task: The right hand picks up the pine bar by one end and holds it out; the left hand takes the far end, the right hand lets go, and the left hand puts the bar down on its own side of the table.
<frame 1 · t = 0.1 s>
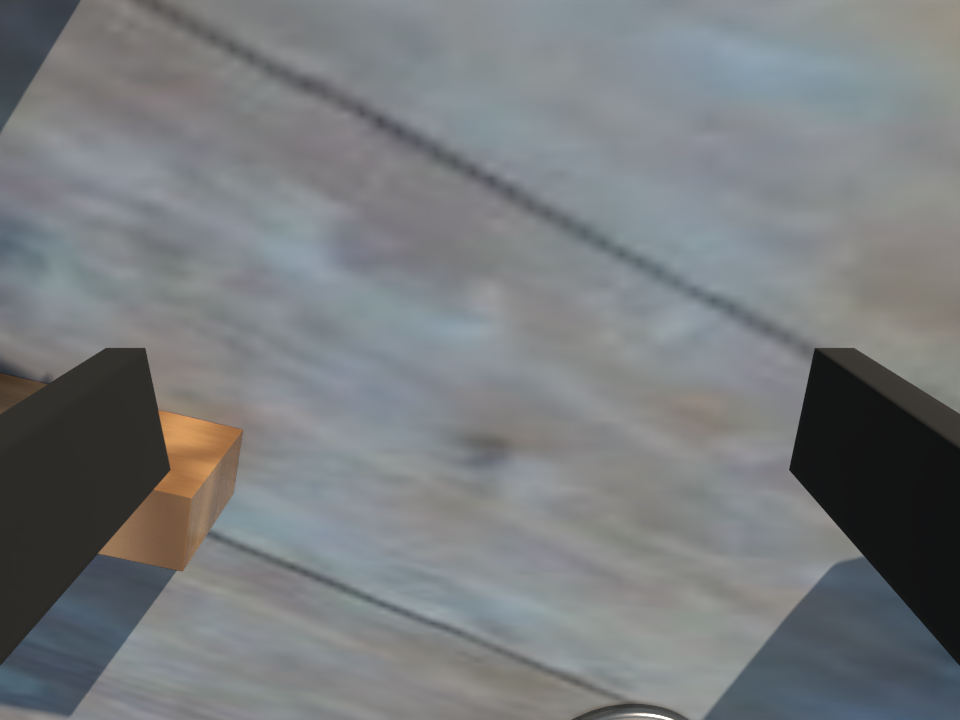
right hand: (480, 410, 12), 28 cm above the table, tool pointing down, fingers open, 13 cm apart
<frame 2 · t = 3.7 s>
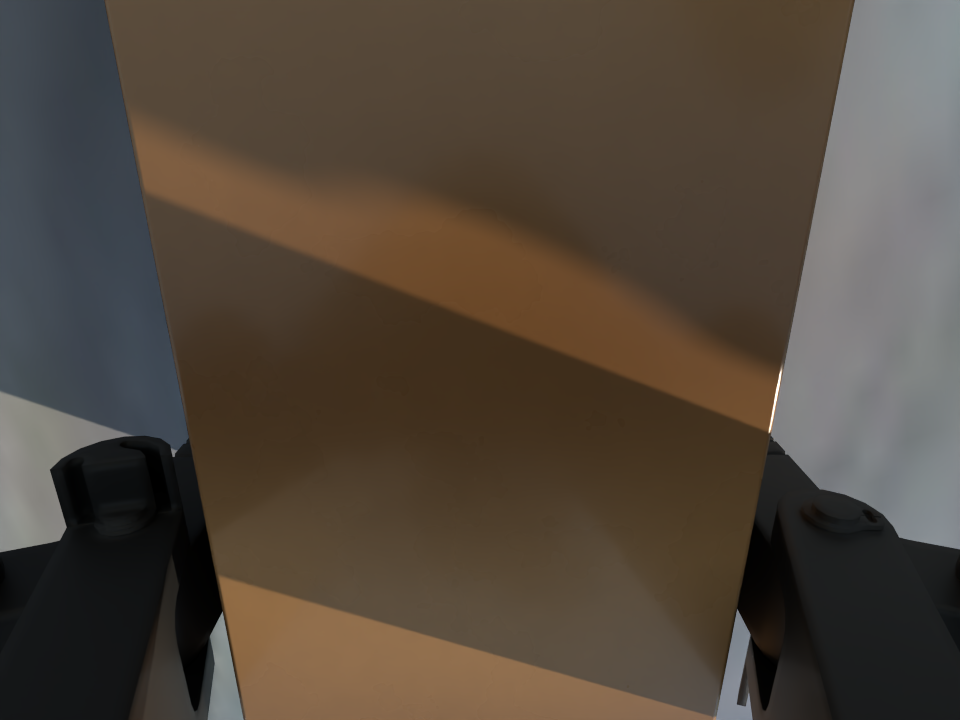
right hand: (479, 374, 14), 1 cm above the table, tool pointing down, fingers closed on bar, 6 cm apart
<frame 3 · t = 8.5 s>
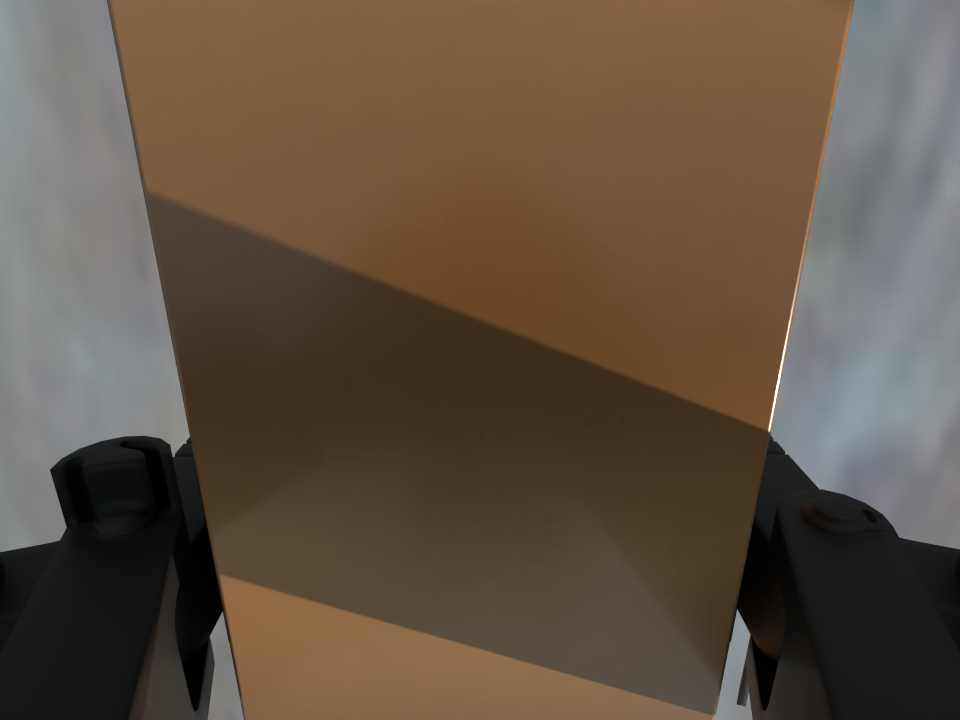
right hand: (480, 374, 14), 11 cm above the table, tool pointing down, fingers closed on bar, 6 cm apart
when the right hand's fingers open (11 cm above the table, at t = 9.1 s): bar stays where it is, held by the left hand.
when the left hand's fingers open (2 cm above the table, at t = 12.5 s): bar stays where it is, on the table.
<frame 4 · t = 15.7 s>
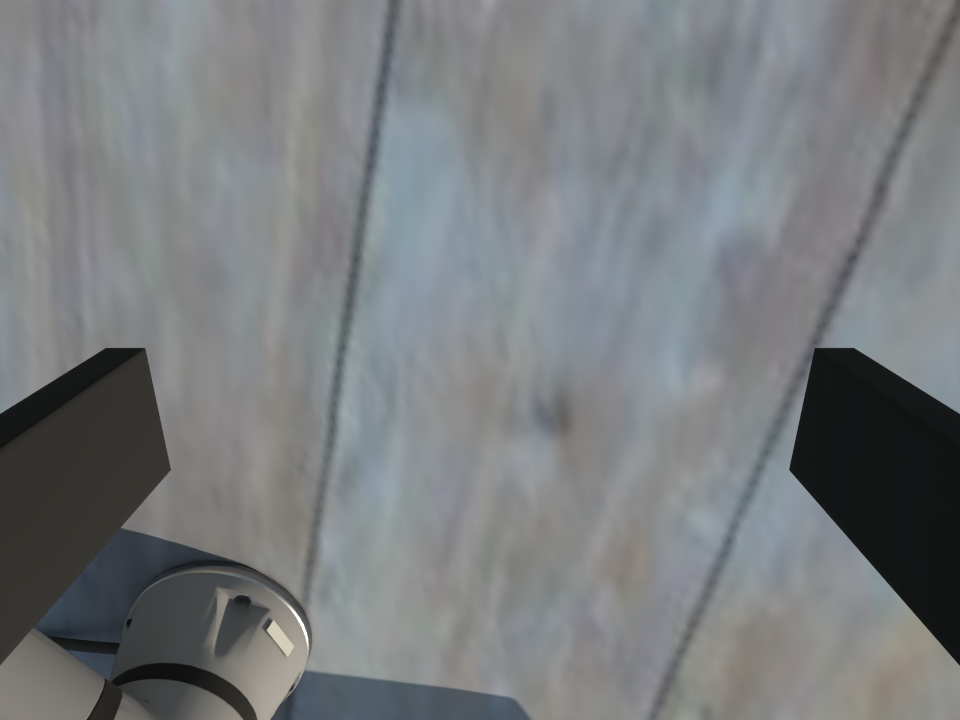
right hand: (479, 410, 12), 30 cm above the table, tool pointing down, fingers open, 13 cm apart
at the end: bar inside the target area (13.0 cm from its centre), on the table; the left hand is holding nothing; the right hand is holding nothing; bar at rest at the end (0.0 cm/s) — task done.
